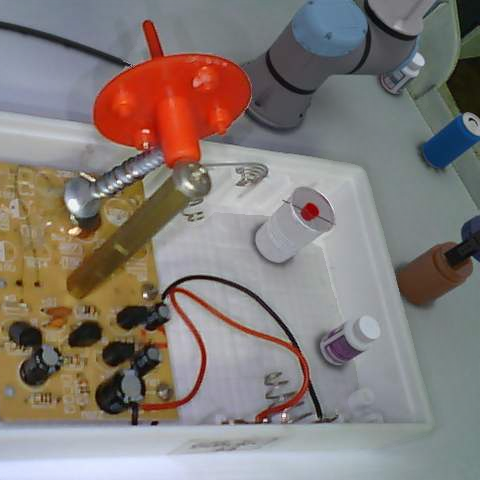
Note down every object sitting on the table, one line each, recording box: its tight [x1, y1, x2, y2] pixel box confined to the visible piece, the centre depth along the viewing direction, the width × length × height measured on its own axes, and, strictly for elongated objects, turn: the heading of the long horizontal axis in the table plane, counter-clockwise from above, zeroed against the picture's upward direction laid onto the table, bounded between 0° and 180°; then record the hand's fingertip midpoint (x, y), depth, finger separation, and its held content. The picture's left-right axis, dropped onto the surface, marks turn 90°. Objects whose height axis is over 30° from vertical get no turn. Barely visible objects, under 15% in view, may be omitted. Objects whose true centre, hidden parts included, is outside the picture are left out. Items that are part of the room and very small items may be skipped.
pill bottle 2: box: [380, 52, 426, 95], centre depth 168 cm, size 5×5×9 cm
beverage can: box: [422, 112, 480, 169], centre depth 161 cm, size 6×6×12 cm
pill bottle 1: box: [319, 314, 381, 366], centre depth 124 cm, size 5×5×10 cm
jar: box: [396, 240, 474, 307], centre depth 140 cm, size 8×8×11 cm
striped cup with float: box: [254, 185, 337, 264], centre depth 129 cm, size 10×8×12 cm
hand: (464, 253), depth 134 cm, fingers closed on lid, 8 cm apart
